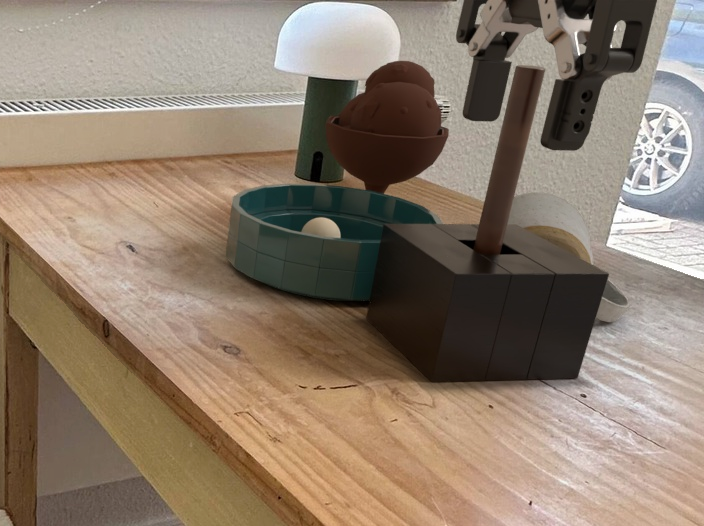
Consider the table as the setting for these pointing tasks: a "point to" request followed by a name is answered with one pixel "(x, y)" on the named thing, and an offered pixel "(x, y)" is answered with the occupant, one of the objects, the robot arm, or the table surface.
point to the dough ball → (322, 228)
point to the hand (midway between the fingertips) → (516, 133)
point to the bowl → (314, 237)
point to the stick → (508, 158)
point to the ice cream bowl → (389, 127)
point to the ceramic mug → (565, 239)
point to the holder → (483, 303)
